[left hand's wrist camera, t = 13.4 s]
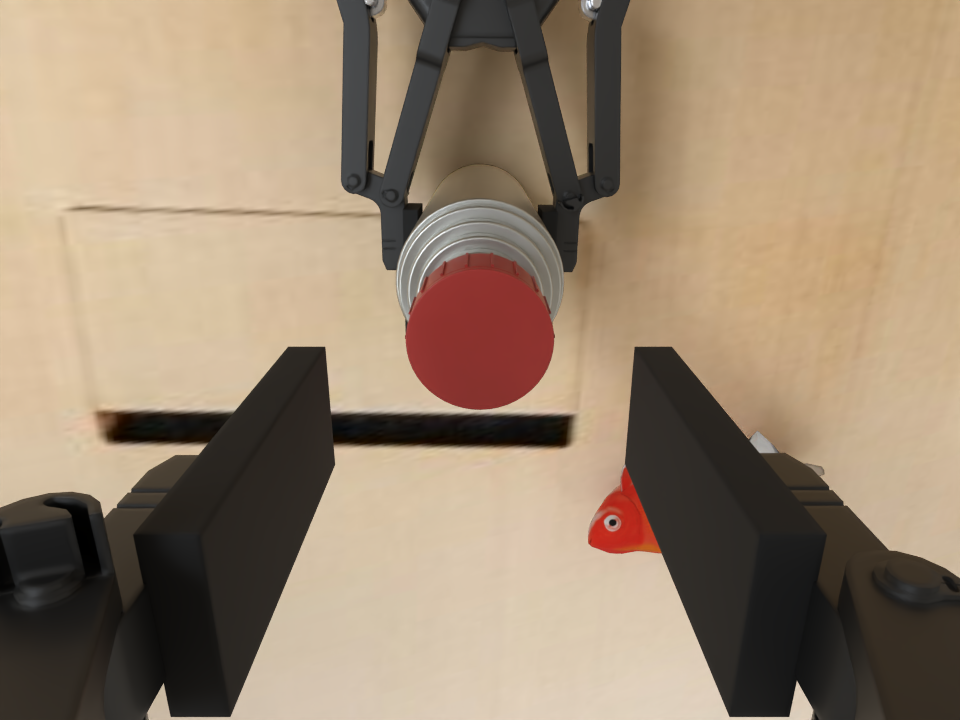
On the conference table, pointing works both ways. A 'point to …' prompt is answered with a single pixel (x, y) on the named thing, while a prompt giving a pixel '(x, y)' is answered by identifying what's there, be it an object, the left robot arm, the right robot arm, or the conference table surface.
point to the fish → (639, 514)
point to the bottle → (479, 233)
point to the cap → (479, 332)
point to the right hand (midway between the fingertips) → (478, 328)
